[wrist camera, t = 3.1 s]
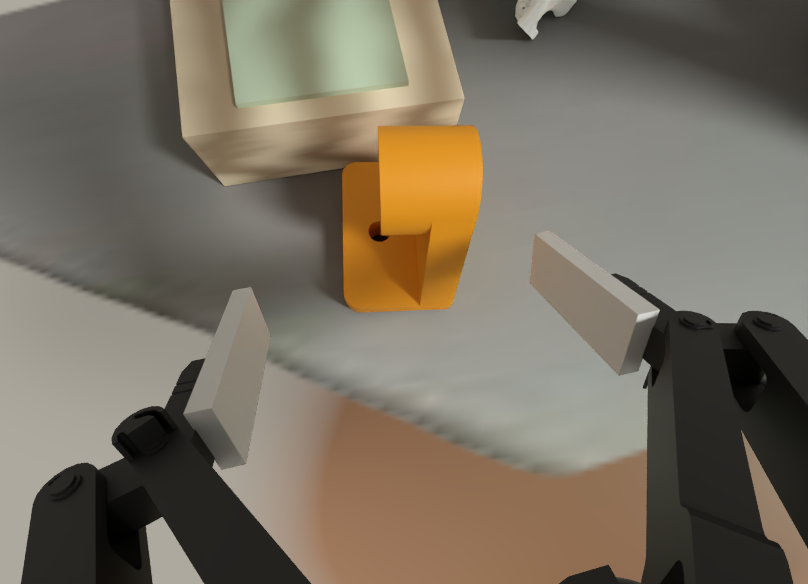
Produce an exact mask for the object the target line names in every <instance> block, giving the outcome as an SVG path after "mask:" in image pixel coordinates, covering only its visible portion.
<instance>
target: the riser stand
mask: <svg viewBox="0 0 808 584" xmlns="http://www.w3.org/2000/svg"><path fill="white" fill-rule="evenodd" d="M170 8H171V18H172V29H173V40H174V51H175V62H176V73H177V83H178V94H179V105H180V116H181V127H182V137H183V138H184V140H185V141H186V142H187V143H188V144H189V145H190V147H191V148H192V149H193V150H194V151H195V152H196V154H197V155H198V156H199V157H200V158H201V159H202V160H203V162H204V163H205V164H206V165H207V166H208V167H209V169H210V170H211V171H212V172H213V173H214V174H215V176H216V177H217V178H218V179H219V180H220V181H221V182H222V184H223V185H224V186H230V185H236V184H243V183H249V182H256V181H262V180H269V179H276V178H282V177H289V176H295V175H302V174H308V173H315V172H321V171H328V170H334V169H341V168H345V167H346V166H347V165H348V164H350V163H354V162H378V126H456V125H457V122H458V119H459V115H460V112H461V109H462V105H463V102H464V99H465V98H464V94H463V91H462V87H461V83H460V80H459V76H458V73H457V69H456V65H455V62H454V58H453V54H452V51H451V47H450V44H449V40H448V36H447V33H446V29H445V25H444V22H443V18H442V15H441V11H440V7H439V4H438V0H170Z"/></svg>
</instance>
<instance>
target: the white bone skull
mask: <svg viewBox="0 0 808 584" xmlns="http://www.w3.org/2000/svg"><path fill="white" fill-rule="evenodd" d="M576 1H577V0H518V2H517V5H516V12H515V17H516V19H517V20H518V22H517V23H518V25H519V26H520V27H521V28H522V29H523V30H524V31H525V32H526V33H527V34H528V35H529V36H530V37H531V39H532V40H533V39H534V38H535V37H536V35H537V34H538V30H537V29H536V27H537V23H538V21H539V20H540V19H541V17H542V16H543V15H544V14H545V13H546V12H547V11H549V10H551V11H553V13H554V15H555V17H561V16H564V15H565V14H566V13H567V12H568V11H569V10H570V8H571V7H572V6H573V5H574V4H575V3H576Z"/></svg>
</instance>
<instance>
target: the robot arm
mask: <svg viewBox="0 0 808 584" xmlns="http://www.w3.org/2000/svg"><path fill="white" fill-rule="evenodd" d="M530 284H531V285H532V286H533V287H534V288H535V289H536V290H537V291H538V292H539V293H540V294H541V295H542V296H543V297H544V298H545V299H546V301H547V302H548V303H549V304H550V305H551V306H552V307H553V308H554V309H555V310H556V311H557V312H558V313H559V314H560V315H561V316H562V317H563V318H564V319H565V320H566V321H567V322H568V323H569V324H570V325H571V326H572V328H573V329H574V330H575V331H576V332H577V333H578V334H579V335H580V336H581V337H582V338H583V339H584V340H585V341H586V342H587V343H588V344H589V345H590V346H591V347H592V348H593V349H594V350H595V351H596V352H597V353H598V355H599V356H600V357H601V358H602V359H603V360H604V361H605V362H606V363H607V364H608V365H609V366H610V367H611V368H612V369H613V370H614V371H615V372H616V373H617V374H618V375H619V376H620V375H624V374H628V373H632V372H636V371H638V370H639V367H640V365H641V362H642V359H644V360H645V361H646V362H647V363H649V364H650V365H651V367H650V369H649V372H648V375H647V377H646V380H645V383H644V385H643V388H644V389H646V388H647V386H648V428H647V528H646V529H647V530H646V532H647V533H646V561H645V567H644V571H643V576H642V580H641V583H639V582H636V581H633V580H628V579H624V578H618V577H615V575H614V573H613V572H612V570H611V568H610V567H609V565H606V566H603V567H599V568H596V569H593V570H589V571H586V572H582V573H579V574H576V575H572V576H569V577H567V578H566V579H565V580H563V581H562V582H561V583H559V584H793V580H792V577H791V572H790V569H789V565H788V561H787V558H786V556H785V553H784V551H783V549H782V548H781V547H780V545H779V544H778V543H776V542H774V541H771V540H768V539H767V537H766V536H765V534H764V531H763V528H762V523H761V519H760V514H759V510H758V505H757V501H756V496H755V492H754V487H753V483H752V478H751V473H750V469H749V465H748V460H747V455H746V451H745V447H744V442H743V437H742V433H741V430H742V432H743V433H744V435H745V437H746V439H747V441H748V443H749V444H750V446H751V448H752V450H753V451H754V453H755V455H756V457H757V459H758V460H759V462H760V464H761V466H762V468H763V469H764V471H765V473H766V475H767V476H768V478H769V480H770V482H771V484H772V485H773V487H774V489H775V491H776V493H777V494H778V496H779V498H780V500H781V501H782V503H783V505H784V507H785V508H786V510H787V512H788V514H789V516H790V518H791V519H792V521H793V523H794V525H795V526H796V528H797V530H798V532H799V534H800V535H801V537H802V539H803V541H804V542H805V544H806V546H807V548H808V340H807V339H806V338H805V337H804V335H803V334H802V333H801V332H800V331H799V330H798V329H797V328H796V327H795V326H794V325H793V324H792V323H790V322H789V321H788V320H786V319H784V318H782V317H780V316H778V315H775V314H771V313H768V312H761V311H747V312H745V313H742V315H741V317H740V318H739V320H738V322H737V324H736V323H715V322H714V321H713V320H711V319H710V318H709V317H706V316H704V315H702V314H699V313H695V312H691V311H675V310H674V309H672V308H671V307H669V306H668V305H666V304H665V303H663V302H662V301H661V300H659V299H658V298H656V297H655V296H653V295H652V294H650V293H647V291H646V290H645V289H643V288H642V287H639V285H637V284H636V283H634V282H633V281H632V280H630V279H628V278H626V277H623V276H621V275H618V274H609V273H608V272H606V271H605V270H604V269H602V268H601V267H600V266H598V265H597V264H595V263H594V262H593V261H591V260H590V259H588V258H587V257H586V256H584V255H583V254H581V253H580V252H579V251H577V250H576V249H574V248H573V247H572V246H570V245H569V244H567V243H566V242H565V241H563V240H562V239H560V238H559V237H558V236H556V235H555V234H554V233H552V232H551V231H546V232H541V233H536V234H535V235H534V245H533V255H532V265H531V275H530ZM270 337H271V335H270V332H269V330H268V327H267V325H266V323H265V320H264V318H263V315H262V313H261V310H260V308H259V305H258V303H257V300H256V298H255V296H254V293H253V291H252V288H251V287H248V288H243V289H237V290H233V291H232V294H231V296H230V299H229V301H228V304H227V306H226V309H225V311H224V314H223V316H222V319H221V321H220V324H219V326H218V329H217V331H216V334H215V336H214V339H213V341H212V344H211V346H210V349H209V351H208V354H207V356H206V358H205V359H200V360H195V361H192V362H191V363H190V364H189V365H188V366H187V367H186V368H185V369H184V370H183V371H182V373H181V375H180V377H179V379H178V381H177V384H176V385H177V386H175V388H174V390H173V392H172V396H171V397H170V399H169V401H168V403H167V405H166V407H165V409H163V408H162V407H159V406H155V407H154V406H152V407H148V408H144V409H142V410H139V411H137V412H136V413H134V414H132V415H130V416H129V417H128V418H126V419H125V420H124V421H123V422H122V423H121V424H120V425H119V426H118V427H117V428H116V429H115V431H114V434H113V436H112V444H113V446H114V447H115V448H116V449H117V450H118V451H119V452H120V453H121V454H122V455H123V456H124V458H123V459H121V460H119V461H117V462H114V463H112V464H110V465H108V466H106V467H104V468H102V469H100V470H98V469H97V468H96V467H94V466H93V465H91V464H89V463H81V464H76V465H74V466H71V467H69V468H66V469H65V470H63V471H62V472H60V473H58V474H57V475H55V476H54V477H53V478H52V479H51V480H49V481H48V482H47V483H46V484H45V485H44V486H43V487H42V489H41V490H40V491H39V493H38V494H37V495H36V498H35V500H34V503H33V508H32V514H31V520H30V527H29V534H28V540H27V547H26V554H25V560H24V567H23V574H22V581H21V584H153V583H152V575H151V566H150V558H149V551H148V541H147V534H146V525H148V524H150V523H151V522H153V521H155V520H157V519H159V518H161V517H163V518H164V519H165V521H166V523H167V524H168V526H169V528H170V529H171V531H172V532H173V534H174V536H175V537H176V539H177V540H178V542H179V543H180V545H181V547H182V548H183V550H184V552H185V553H186V555H187V557H188V558H189V560H190V561H191V563H192V564H193V566H194V568H195V569H196V571H197V573H198V574H199V576H200V577H201V579H202V581H203V582H204V584H311V583H310V582H309V581H308V579H307V578H306V577H305V576H304V575H303V574H302V572H301V571H300V570H299V569H298V568H297V566H296V565H295V564H294V563H293V562H292V561H291V559H290V558H289V557H288V556H287V555H286V553H285V552H284V551H283V550H282V549H281V548H280V546H279V545H278V544H277V543H276V542H275V541H274V539H273V538H272V537H271V536H270V535H269V534H268V532H267V531H266V530H265V529H264V528H263V526H262V525H261V524H260V523H259V522H258V521H257V519H256V518H255V517H254V516H253V515H252V514H251V513H250V511H249V510H248V509H247V508H246V507H245V505H244V504H243V503H242V502H241V501H240V499H239V498H238V497H237V496H236V495H235V494H234V493H233V491H232V490H231V489H230V488H229V487H228V485H227V484H226V483H225V482H224V481H223V479H222V478H221V477H220V476H219V475H218V474H217V472H216V471H215V470H214V469H213V468H212V467H213V463H214V460H215V461H216V463H217V464H218V465H219V467H220V468H221V470H223V469H227V468H231V467H235V466H239V465H244V464H246V461H247V456H248V451H249V446H250V441H251V435H252V430H253V424H254V420H255V414H256V409H257V404H258V399H259V394H260V389H261V382H262V378H263V373H264V368H265V363H266V357H267V352H268V347H269V342H270Z"/></svg>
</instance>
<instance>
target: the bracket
mask: <svg viewBox="0 0 808 584" xmlns="http://www.w3.org/2000/svg"><path fill="white" fill-rule="evenodd" d="M482 178H483V163H482V150H481V143H480V138H479V134H478V132H477V129H476V128H475V127H474V126H473V125H461V126H378V162H354V163H350V164H348V165H347V166H346V167H345V168H344V170H343V172H342V201H343V273H344V298H345V300H346V302H347V304H348V306H349V307H350V308H351V309H352V310H354V311H356V312H384V311H410V310H435V309H448V308H449V307H450V306H451V305H452V303H453V299H454V296H455V292H456V289H457V285H458V282H459V279H460V275H461V272H462V268H463V265H464V261H465V258H466V255H467V251H468V248H469V244H470V241H471V237H472V234H473V231H474V227H475V224H476V220H477V217H478V212H479V208H480V201H481V193H482ZM376 235H381V236H382V235H384V236H386V237H387V238H388V239H387V240H385V241H382V242H377V241H374V240H373V239H372V238H373V237H374V236H376Z"/></svg>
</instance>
